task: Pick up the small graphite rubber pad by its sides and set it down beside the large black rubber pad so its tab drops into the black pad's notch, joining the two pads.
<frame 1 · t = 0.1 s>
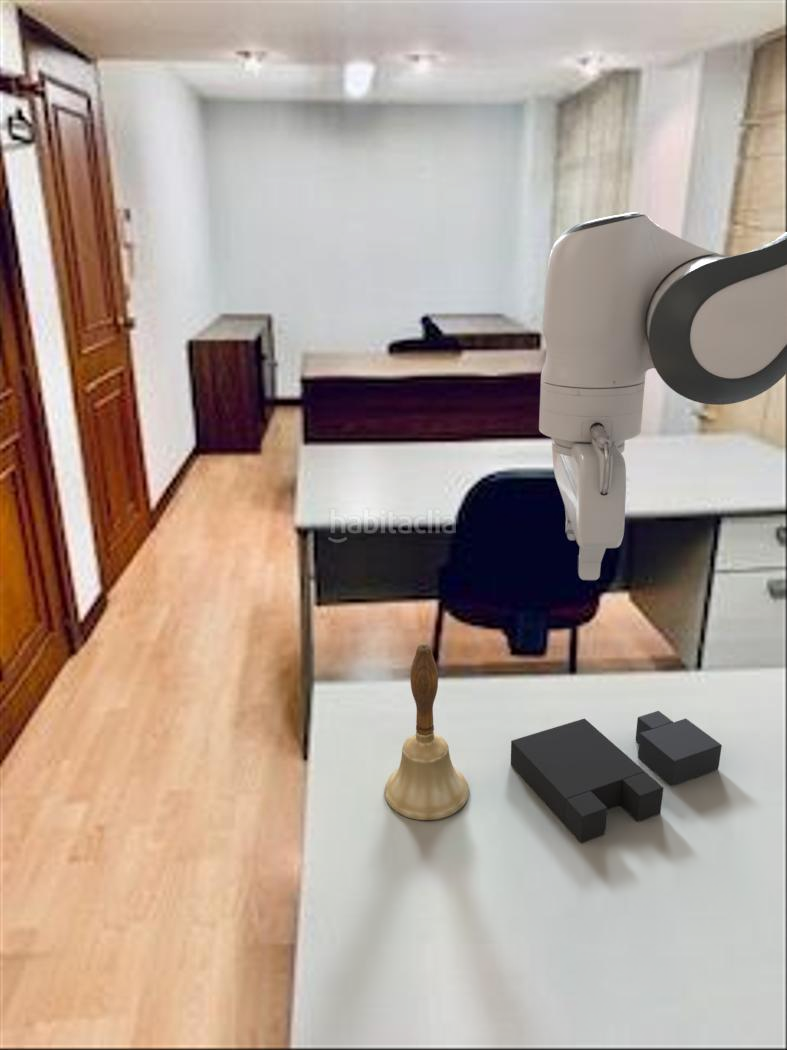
hand: (581, 556, 72), 22 cm above the table, tool pointing down, fingers open, 8 cm apart
black pad: (581, 788, 74), on the table
hand bell: (426, 792, 75), on the table
graphite pad: (677, 763, 78), on the table
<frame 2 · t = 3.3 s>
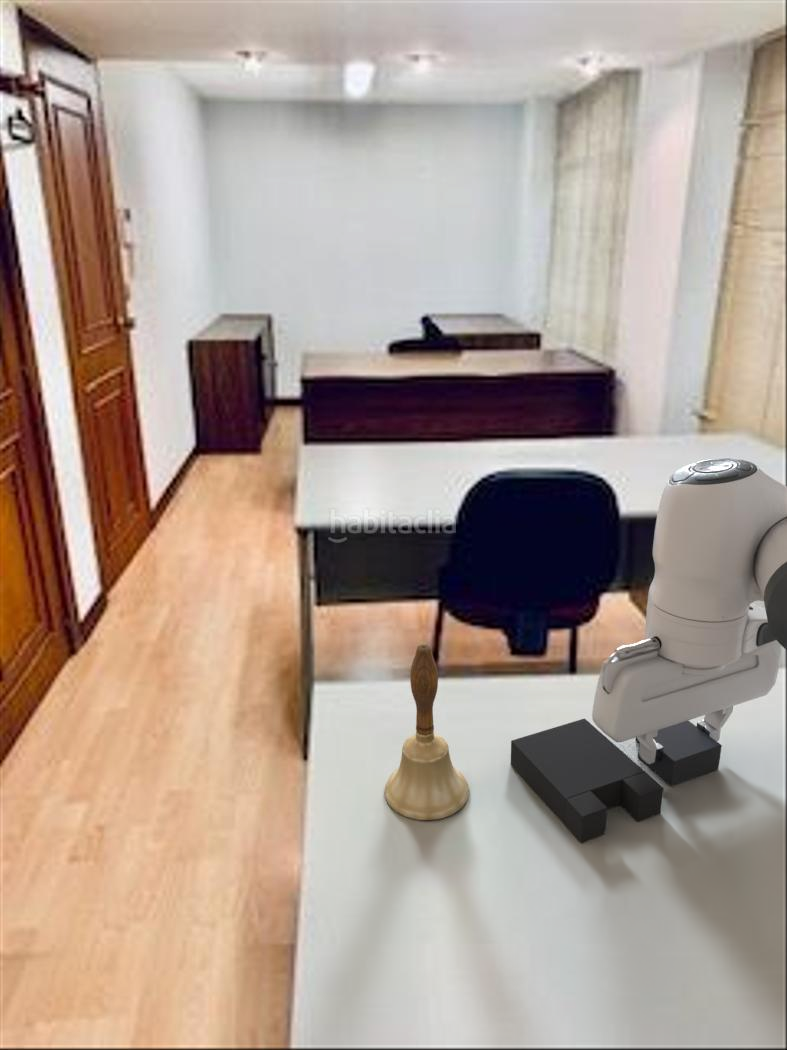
hand: (679, 749, 77), 2 cm above the table, tool pointing down, fingers closed on graphite pad, 6 cm apart
graphite pad: (677, 763, 78), on the table, touching gripper
everything else where it was.
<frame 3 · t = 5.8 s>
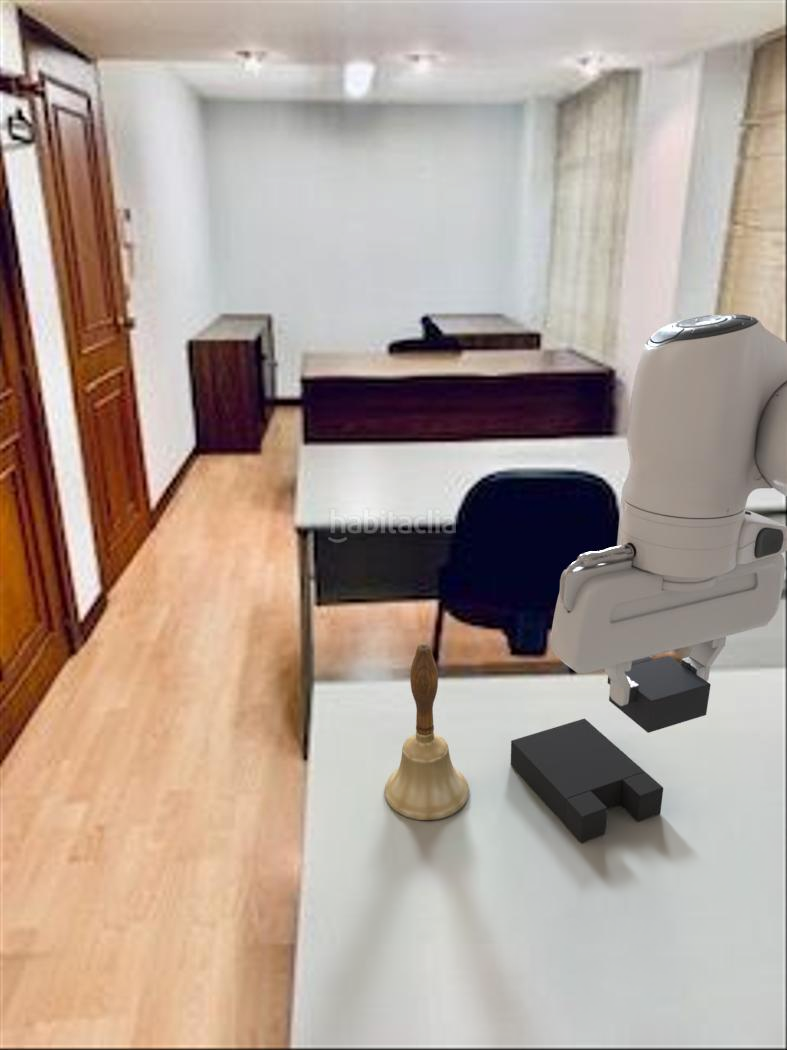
hand: (659, 690, 63), 15 cm above the table, tool pointing down, fingers closed on graphite pad, 6 cm apart
graphite pad: (656, 707, 64), point 13 cm above the table, touching gripper
everything else where it was.
when the fingers open (2 cm above the table, at t = 8.4 s): graphite pad stays where it is, on the table.
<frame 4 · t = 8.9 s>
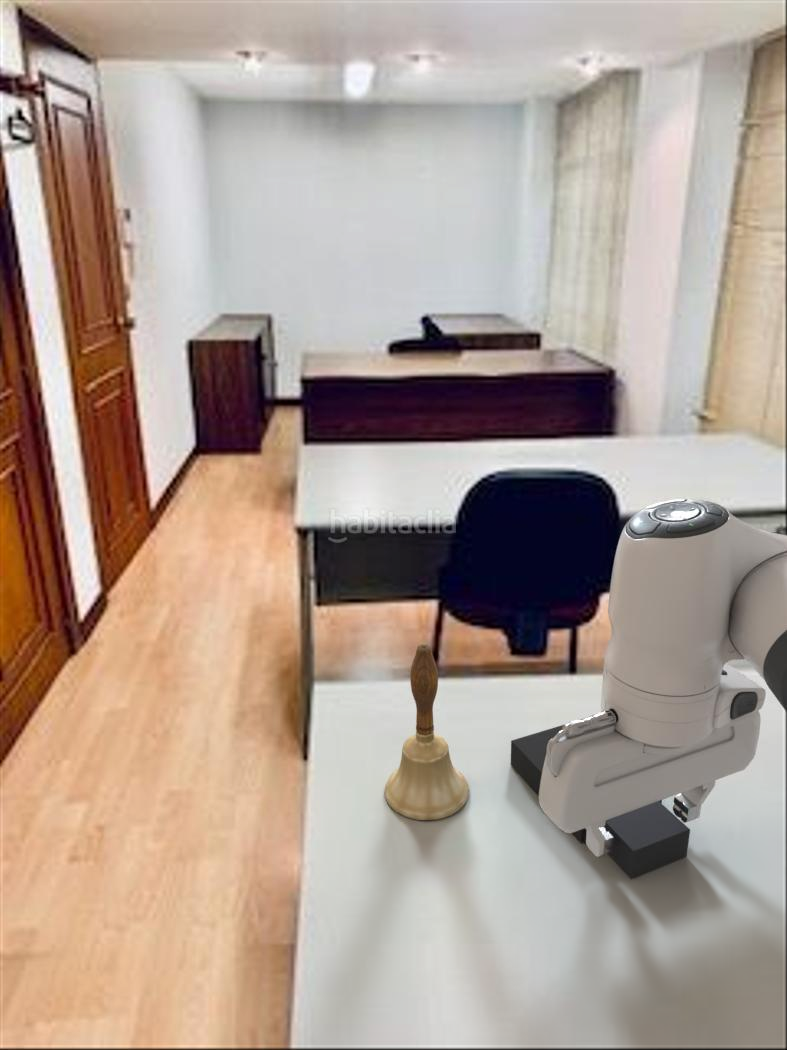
hand: (643, 832, 66), 2 cm above the table, tool pointing down, fingers open, 8 cm apart
graphite pad: (639, 848, 67), on the table
everything else where it was.
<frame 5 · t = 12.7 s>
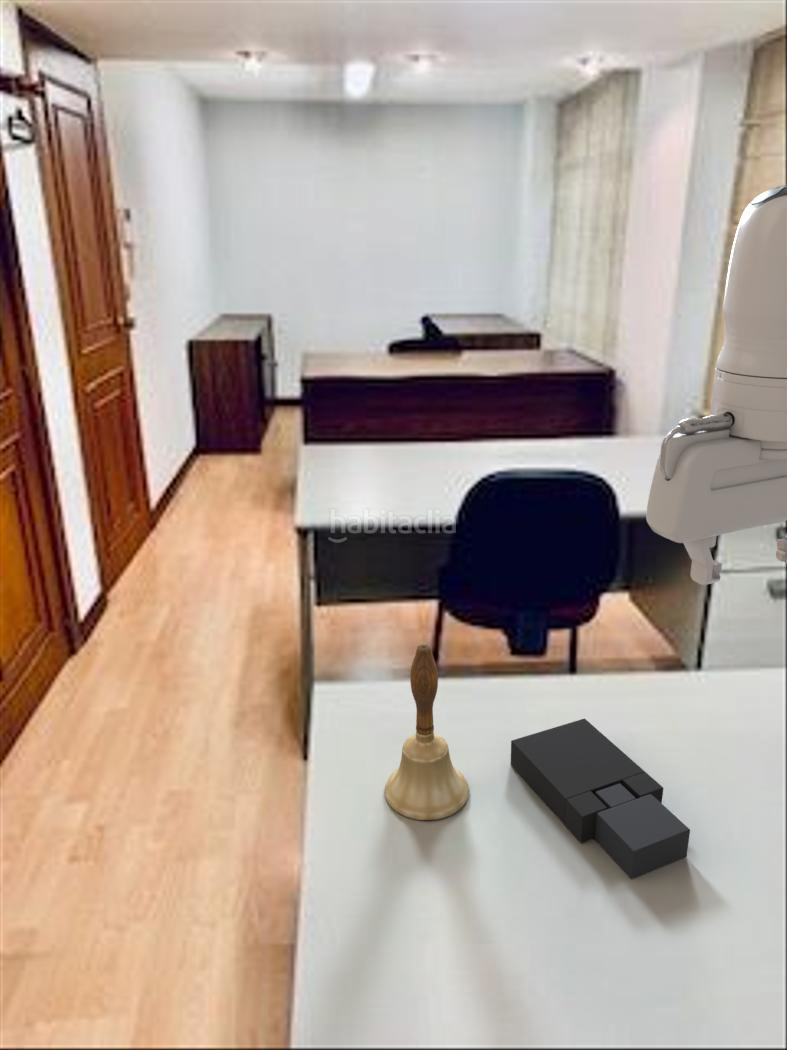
hand: (748, 570, 63), 24 cm above the table, tool pointing down, fingers open, 8 cm apart
nothing on the table moved.
at the end: graphite pad 0.2 cm from the target spot on the table beside the black pad, on the table; graphite pad tilted 0°; the gripper is holding nothing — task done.
